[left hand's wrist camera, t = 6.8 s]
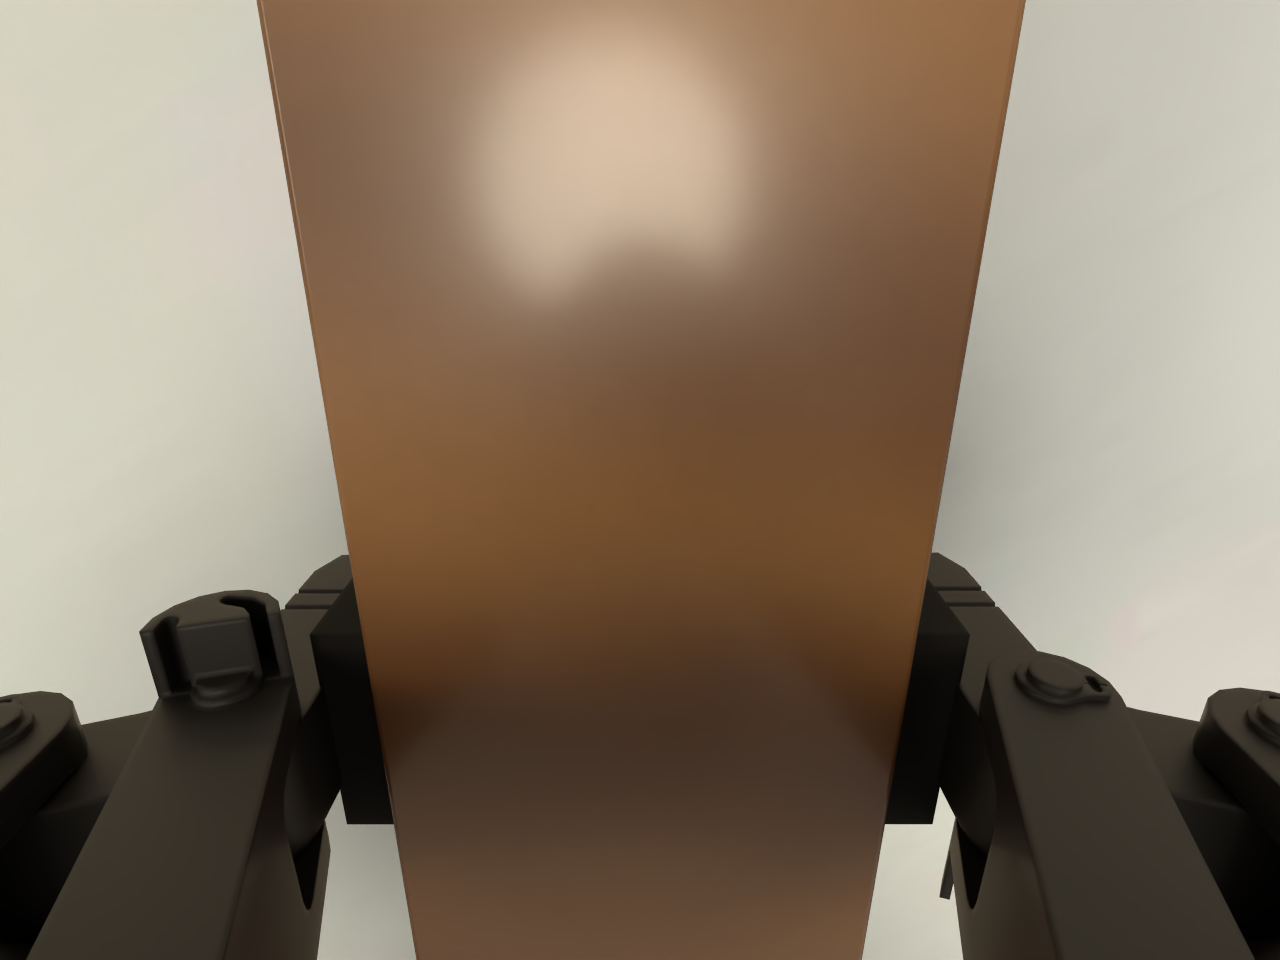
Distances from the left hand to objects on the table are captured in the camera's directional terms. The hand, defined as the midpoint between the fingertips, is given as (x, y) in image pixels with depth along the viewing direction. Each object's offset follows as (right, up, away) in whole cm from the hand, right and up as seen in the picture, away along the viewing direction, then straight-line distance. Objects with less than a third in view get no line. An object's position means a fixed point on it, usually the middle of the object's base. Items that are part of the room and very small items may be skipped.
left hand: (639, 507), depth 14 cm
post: (0, +21, -8) cm, 23 cm away
